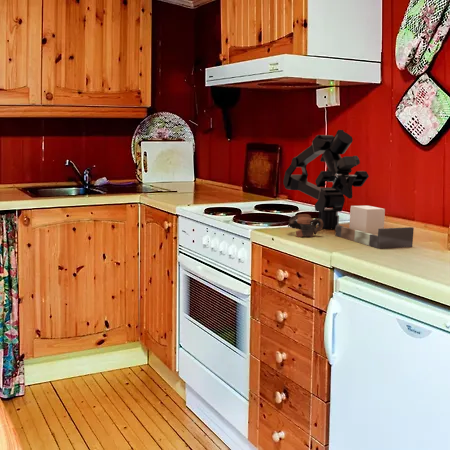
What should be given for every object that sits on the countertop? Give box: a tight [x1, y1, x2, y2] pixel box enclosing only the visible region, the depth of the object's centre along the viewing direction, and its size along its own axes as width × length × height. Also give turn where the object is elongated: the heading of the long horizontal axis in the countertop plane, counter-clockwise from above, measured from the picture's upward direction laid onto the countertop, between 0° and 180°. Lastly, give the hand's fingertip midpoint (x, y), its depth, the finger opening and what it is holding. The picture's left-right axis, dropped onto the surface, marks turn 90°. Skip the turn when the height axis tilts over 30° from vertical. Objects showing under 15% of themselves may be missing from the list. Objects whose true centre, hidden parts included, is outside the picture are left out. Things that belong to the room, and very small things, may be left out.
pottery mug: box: [287, 213, 324, 238], centre depth 210 cm, size 12×10×8 cm
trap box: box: [334, 224, 415, 250], centre depth 202 cm, size 24×12×6 cm, turn 23°
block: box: [348, 205, 386, 234], centre depth 205 cm, size 9×7×8 cm
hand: (350, 197), depth 213 cm, fingers closed
